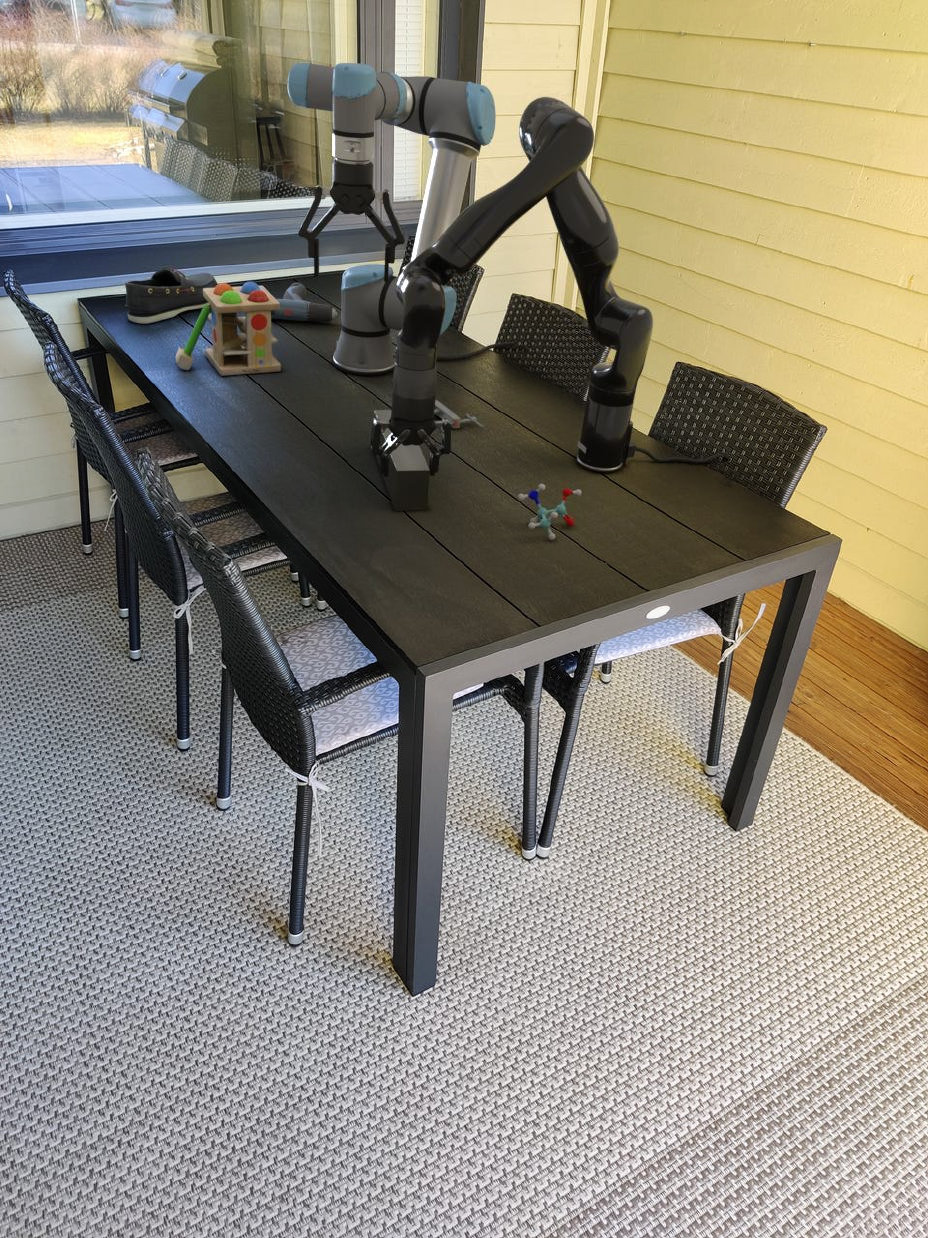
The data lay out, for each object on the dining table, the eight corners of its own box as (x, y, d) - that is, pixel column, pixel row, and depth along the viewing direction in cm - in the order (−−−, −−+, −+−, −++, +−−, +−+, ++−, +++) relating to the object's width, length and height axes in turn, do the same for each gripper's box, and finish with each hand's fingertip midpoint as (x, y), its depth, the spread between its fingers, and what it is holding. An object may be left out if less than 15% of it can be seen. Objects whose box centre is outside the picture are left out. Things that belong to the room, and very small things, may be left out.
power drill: (344, 304, 276) (335, 327, 259) (277, 298, 275) (264, 321, 258) (344, 285, 273) (335, 306, 256) (277, 279, 272) (264, 300, 255)
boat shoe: (237, 302, 271) (234, 263, 265) (145, 325, 247) (140, 283, 242) (203, 293, 276) (200, 255, 271) (110, 316, 253) (104, 274, 247)
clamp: (412, 401, 215) (452, 396, 220) (411, 411, 216) (451, 405, 221) (445, 428, 205) (486, 422, 209) (444, 438, 206) (485, 432, 210)
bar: (372, 447, 200) (374, 409, 195) (401, 446, 201) (403, 409, 197) (394, 511, 178) (396, 470, 173) (427, 510, 179) (429, 469, 175)
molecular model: (578, 533, 169) (560, 478, 167) (528, 548, 172) (510, 494, 171) (592, 523, 179) (575, 471, 178) (544, 538, 183) (527, 486, 182)
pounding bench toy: (183, 379, 220) (176, 299, 210) (169, 357, 231) (162, 280, 221) (282, 371, 230) (280, 294, 220) (264, 350, 240) (262, 276, 230)
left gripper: (282, 158, 176) (285, 278, 188) (420, 169, 178) (414, 287, 190) (286, 150, 182) (289, 267, 195) (420, 161, 184) (415, 276, 196)
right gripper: (376, 397, 164) (373, 484, 173) (459, 397, 168) (451, 483, 177) (370, 380, 170) (366, 466, 179) (449, 381, 174) (442, 465, 183)
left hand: (351, 277), depth 192 cm, fingers open, 13 cm apart
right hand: (408, 474), depth 178 cm, fingers open, 8 cm apart
